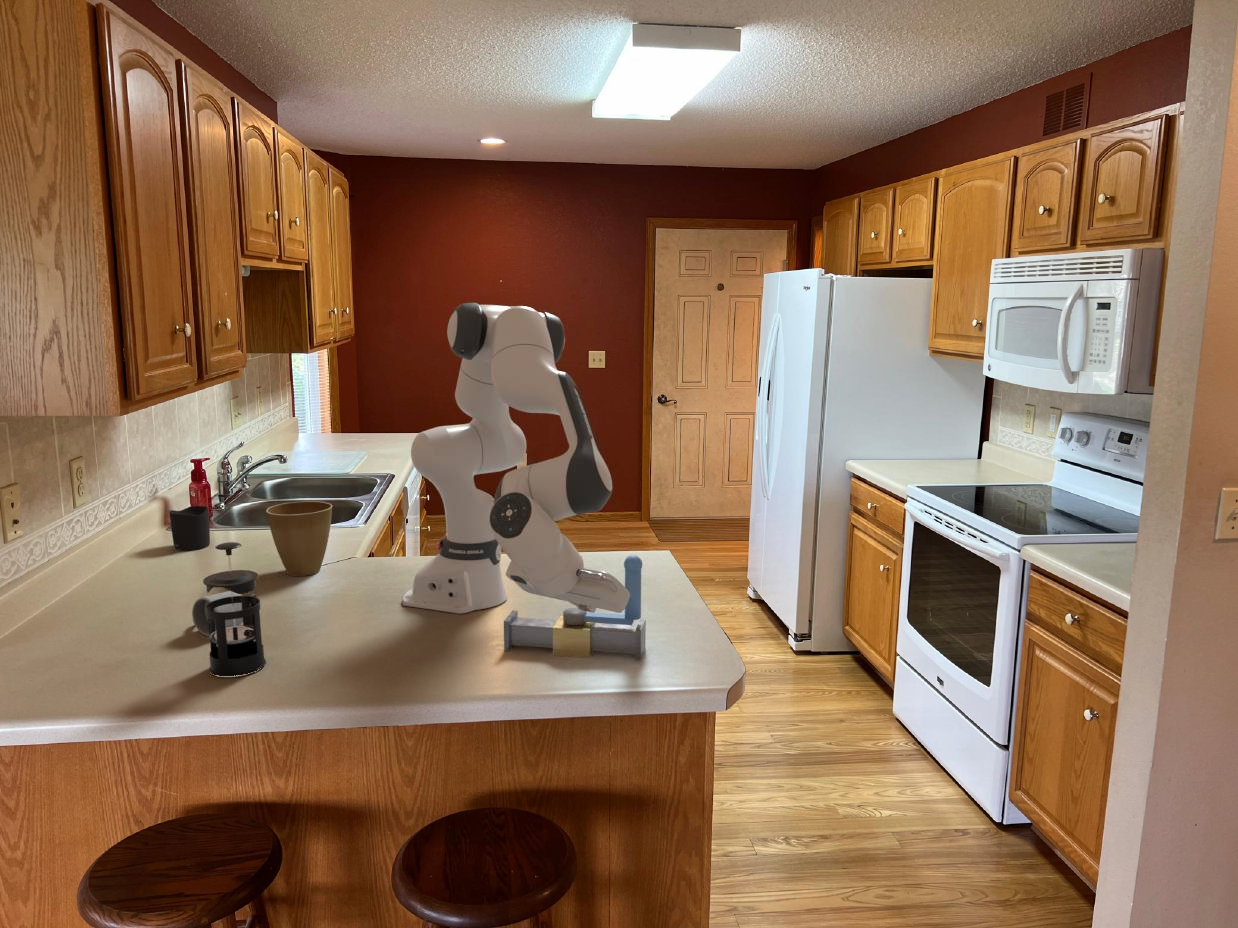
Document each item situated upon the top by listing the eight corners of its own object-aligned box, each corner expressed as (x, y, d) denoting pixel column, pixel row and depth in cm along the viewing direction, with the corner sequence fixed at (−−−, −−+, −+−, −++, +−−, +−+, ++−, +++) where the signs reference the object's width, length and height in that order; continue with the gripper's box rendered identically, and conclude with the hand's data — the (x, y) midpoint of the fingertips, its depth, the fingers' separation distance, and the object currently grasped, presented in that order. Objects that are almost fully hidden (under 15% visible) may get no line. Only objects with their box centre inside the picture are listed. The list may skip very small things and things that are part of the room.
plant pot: (349, 568, 221) (345, 505, 217) (298, 585, 208) (293, 517, 205) (308, 559, 228) (304, 497, 225) (257, 574, 216) (252, 509, 213)
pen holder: (177, 542, 243) (173, 506, 241) (214, 540, 245) (211, 504, 243) (168, 552, 234) (165, 515, 232) (207, 550, 236) (204, 513, 234)
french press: (247, 681, 157) (237, 553, 153) (196, 678, 158) (185, 551, 154) (280, 654, 168) (271, 535, 164) (232, 652, 169) (222, 533, 165)
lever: (560, 624, 168) (560, 554, 166) (566, 616, 172) (565, 548, 170) (640, 629, 166) (640, 559, 163) (643, 621, 170) (644, 552, 167)
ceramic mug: (253, 625, 183) (249, 589, 182) (219, 638, 176) (215, 601, 174) (216, 617, 188) (213, 582, 186) (182, 630, 181) (178, 593, 179)
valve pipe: (503, 651, 170) (503, 621, 169) (513, 639, 176) (512, 609, 175) (640, 661, 166) (640, 630, 165) (645, 648, 172) (645, 618, 171)
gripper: (617, 559, 141) (648, 602, 151) (513, 541, 151) (549, 581, 161) (601, 595, 138) (634, 636, 148) (497, 573, 148) (534, 612, 158)
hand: (589, 607), depth 155 cm, fingers closed
